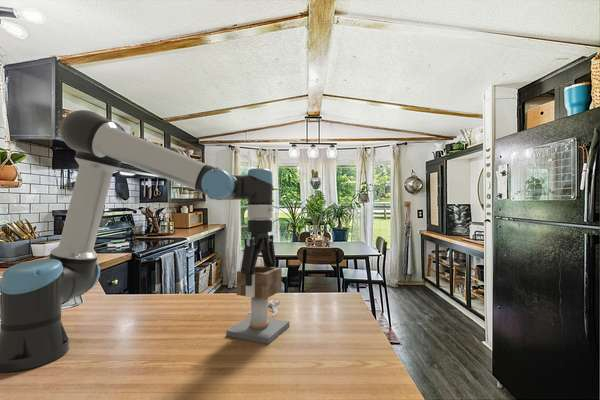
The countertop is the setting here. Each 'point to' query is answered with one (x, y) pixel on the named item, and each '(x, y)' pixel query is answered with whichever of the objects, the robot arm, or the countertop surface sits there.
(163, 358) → the countertop surface
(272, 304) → the pliers
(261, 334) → the square plate with peg
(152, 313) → the countertop surface
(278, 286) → the collar
